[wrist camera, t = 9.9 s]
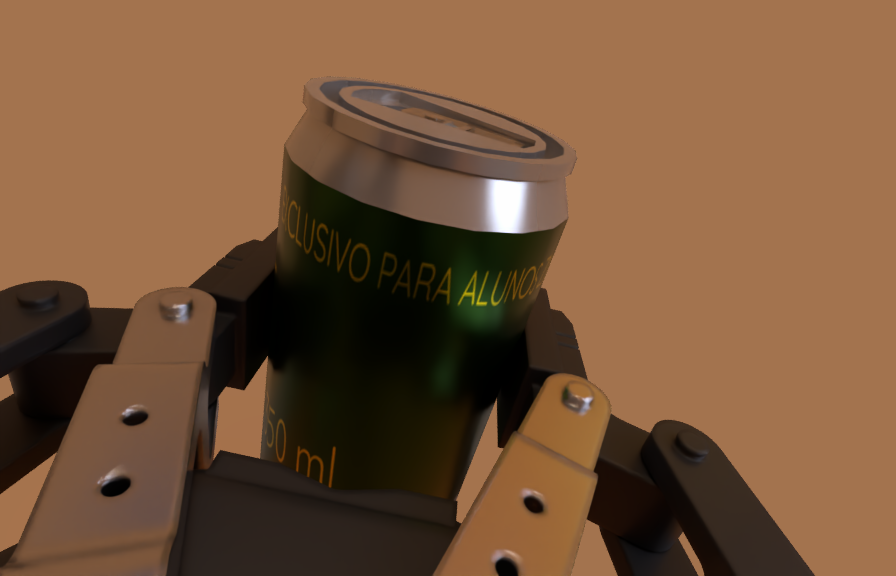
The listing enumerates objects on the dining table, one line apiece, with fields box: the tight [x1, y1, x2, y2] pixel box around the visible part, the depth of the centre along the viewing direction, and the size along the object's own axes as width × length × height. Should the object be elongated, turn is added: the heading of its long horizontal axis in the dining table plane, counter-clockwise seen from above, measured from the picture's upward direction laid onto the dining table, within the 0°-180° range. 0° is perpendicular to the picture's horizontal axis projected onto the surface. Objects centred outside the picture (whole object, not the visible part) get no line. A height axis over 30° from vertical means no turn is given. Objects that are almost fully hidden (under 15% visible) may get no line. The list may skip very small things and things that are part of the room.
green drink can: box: [260, 77, 577, 501], centre depth 11 cm, size 5×5×12 cm
